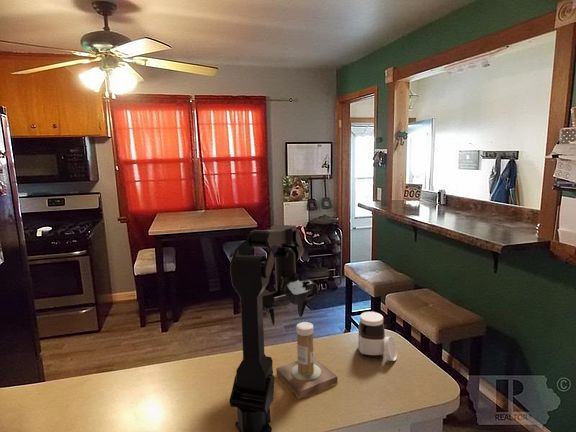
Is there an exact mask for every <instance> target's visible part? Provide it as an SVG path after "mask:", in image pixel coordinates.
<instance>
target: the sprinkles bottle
mask: <svg viewBox="0 0 576 432" xmlns="http://www.w3.org/2000/svg"><path fill="white" fill-rule="evenodd" d="M295 328H296V329H295V330H296V331H295V332H296V335H297V336H296V338H297V339H296V340H297V343H296V348H297V349H296V350H297V353H296V354H297V361H298V372H299V374H301V375H305V376H307V375H311V374H312V373H313V372H314V357H315V355H314V332H315V331H314V324H313V323H311V322H309V321H308V322H307V321H302V322H299V323H297V324H296V327H295Z"/></svg>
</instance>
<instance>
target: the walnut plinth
mask: <svg viewBox="0 0 576 432" xmlns="http://www.w3.org/2000/svg"><path fill="white" fill-rule="evenodd" d="M275 371H276V376H277V377H278V378H279V379H280V380H281V381H282V382H283V383H284V384H285V386H287V388H288V389H289V390H290V391H291V392H292V393H293V394H294V395H295V396H296V397H297V398H298V399H299V400H300V399H302V398H303V399H304V398H305V397H308V396H310V395H312V394H315V393H317V392H320V391H322V390H324V389H327V388H330V387H331V386H333V385H337V384H338V375H336V374H335V373H334V372H333V371H332V370H330V369H329V368H328V367H327V366H326V365H324V363H322V362H321V361H320V360H318V359H317V358H316V357H315V356H314V372H313V373H312V374H311V375H307V376H305V375H301V374H299V372H298V360H296V361H293V362H291V363H287V364H284V365H281V366H279V367H276V370H275Z"/></svg>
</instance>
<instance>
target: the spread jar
mask: <svg viewBox="0 0 576 432" xmlns="http://www.w3.org/2000/svg"><path fill="white" fill-rule="evenodd" d="M359 316H360V317H359V322H358V328H357V329H358V335H357V336H358V341H357V342H358V343H357V344H358V345H357V346H358V347H357V348H358V352H359V354H360V355H362V356H363V357H365V358H369V359H379V358H380V357H382V356H384V355H385V357H386V360H388V361H390V362H394V361H396V360H397V358H398V347H397V346H398V345H397V343H396V340H395V338H394V337H393V336H392V335H391V336H390V335H389V336H386V331H385V329H386V328H385V325H384V316H383V315H382V314H381V313H379V312H376V311H364V312H362V313H361V314H360V315H359Z"/></svg>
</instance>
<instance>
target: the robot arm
mask: <svg viewBox="0 0 576 432" xmlns="http://www.w3.org/2000/svg"><path fill="white" fill-rule="evenodd" d="M273 246H277V250H275V252H274V254H273V252H272V247H273ZM254 248H259V249H267V250H268V253H267V255H266V256H265V255H258V254H257V255H256V254H254V255H253V254H249V253H251V252H252V251H253V249H254ZM304 251H305V248H304V246H303V242H302V239H301V234H300V230H299V229H297V226H296V225H288V224H273V225H272V226H270V229H264V230H263V229H262V230H261V229H253V230H251V231H249V234H248V236H247V238H246V239H245V240H244V241H243V242H241V243H240V245H238V246H237V247H236V249H235V250H234V252H233V255H232V257H231V259H230V262H229V267H228V268H229V269H228V271H229V274H230V278H231V279H230V280H231V285H232V288H234V290H235V292H236V293H237V295H238V296H239V299H240V300H239V301H240V321H241V342H242V344H241V345H242V361H241V362H240V363H239V365H238V367H237V369H236V371H235V375H234V379H233V384H232V388H231V393H230V397H229V401H228V402H229V406H230V407H231V408H236V410H237V411H236V412H237V413H236V414H237V421H235V422H234V425H235V428H236V429H237V431H238V432H272V431H273V427H272V426H271V425H270V424H271V406H272V404H273V401H274V394H275V375H274V370H273V358H272V357H271V356H267V355H266V354H265V338H264V337H265V335H264V311H265V313H266V315H267V317H268V319H269V321H270V323H271V325H272V326H274V325H275V322H276V321H275V307H276V305H275V304H274V303H275V300H276V299H278V298H282V297H287V299H289V302H290V303H291V304H297V313H298V316H299V317H300V318H302V317H303V315H304V311H305V309H306V306H307V304H308V302H309V300H310V299H311V298H314V297H315V295H316V294H318V293H319V286H318V284H317V283H316V282H314V281H312V280H310V279H308V278H307V279H303V280H300V278H299V276H300V275H299V273H298V272H296V271H297V270H296V263H297V262H298V260H299V259H301V257H302V256H303V255H304ZM274 264H275V265H274ZM273 267H275V270H273ZM272 270H273V271H272ZM272 272H273V276H275V284H273V288H274V289H275V290H274V291H271V292H270V291H269V290H267V285H268V284H269V282H270V276H271V273H272Z"/></svg>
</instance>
